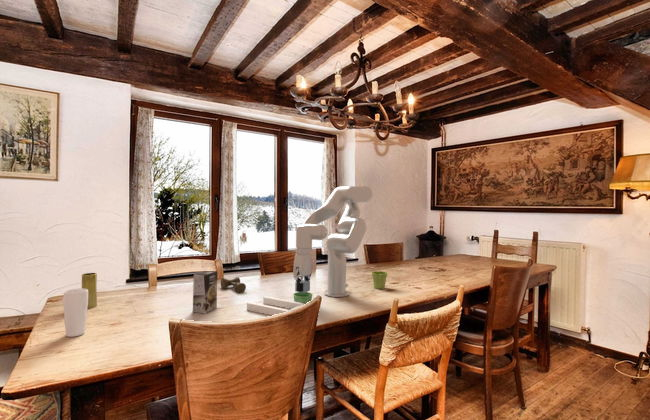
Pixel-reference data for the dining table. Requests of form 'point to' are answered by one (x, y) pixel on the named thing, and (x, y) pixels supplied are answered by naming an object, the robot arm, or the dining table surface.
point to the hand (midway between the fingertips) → (303, 289)
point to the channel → (271, 309)
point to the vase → (90, 288)
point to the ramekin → (302, 297)
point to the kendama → (233, 284)
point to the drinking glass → (75, 311)
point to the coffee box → (205, 291)
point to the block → (304, 286)
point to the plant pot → (379, 279)
